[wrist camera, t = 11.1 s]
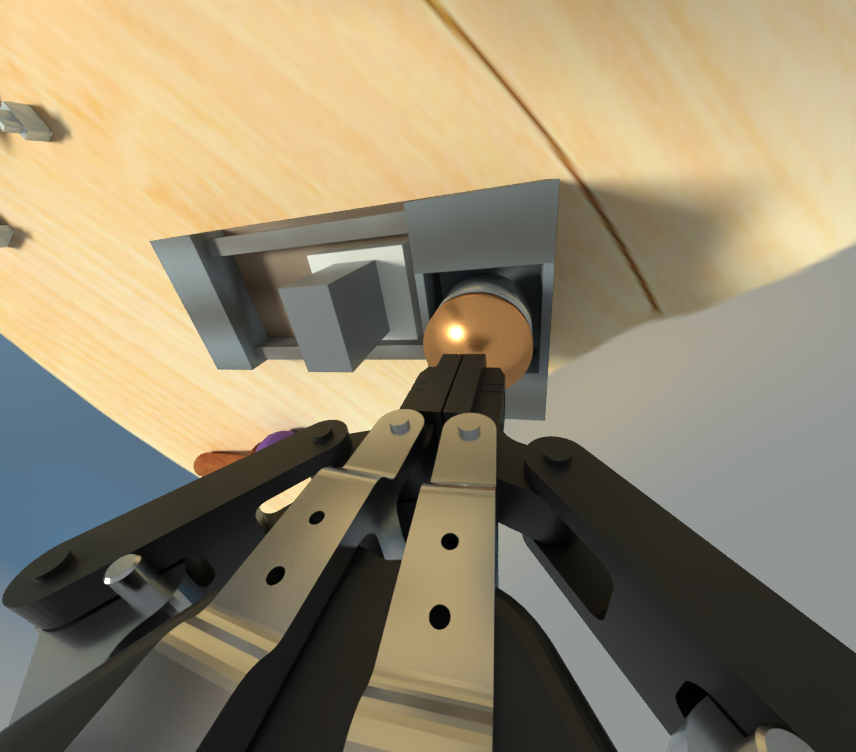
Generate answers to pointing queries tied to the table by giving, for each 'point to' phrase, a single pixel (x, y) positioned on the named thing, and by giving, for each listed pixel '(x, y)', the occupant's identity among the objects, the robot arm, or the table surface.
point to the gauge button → (484, 325)
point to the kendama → (218, 460)
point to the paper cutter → (30, 128)
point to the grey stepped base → (409, 220)
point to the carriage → (353, 304)
